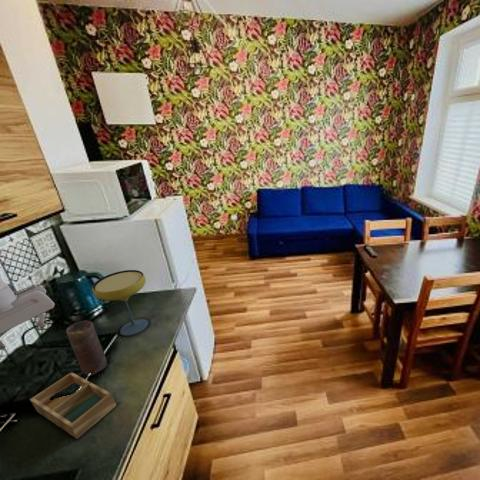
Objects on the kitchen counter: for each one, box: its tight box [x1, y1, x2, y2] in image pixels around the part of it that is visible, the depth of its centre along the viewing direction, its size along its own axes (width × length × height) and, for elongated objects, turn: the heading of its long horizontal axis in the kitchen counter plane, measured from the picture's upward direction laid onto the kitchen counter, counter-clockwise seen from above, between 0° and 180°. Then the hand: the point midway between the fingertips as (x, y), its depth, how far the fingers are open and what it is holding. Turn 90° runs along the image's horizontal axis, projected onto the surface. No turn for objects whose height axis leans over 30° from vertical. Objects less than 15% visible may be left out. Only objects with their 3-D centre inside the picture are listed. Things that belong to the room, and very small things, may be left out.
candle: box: [65, 320, 108, 377], centre depth 96 cm, size 8×7×20 cm
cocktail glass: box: [91, 269, 149, 337], centre depth 116 cm, size 18×18×25 cm
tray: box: [29, 371, 117, 440], centre depth 85 cm, size 21×11×6 cm, turn 68°
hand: (23, 337), depth 82 cm, fingers open, 8 cm apart
